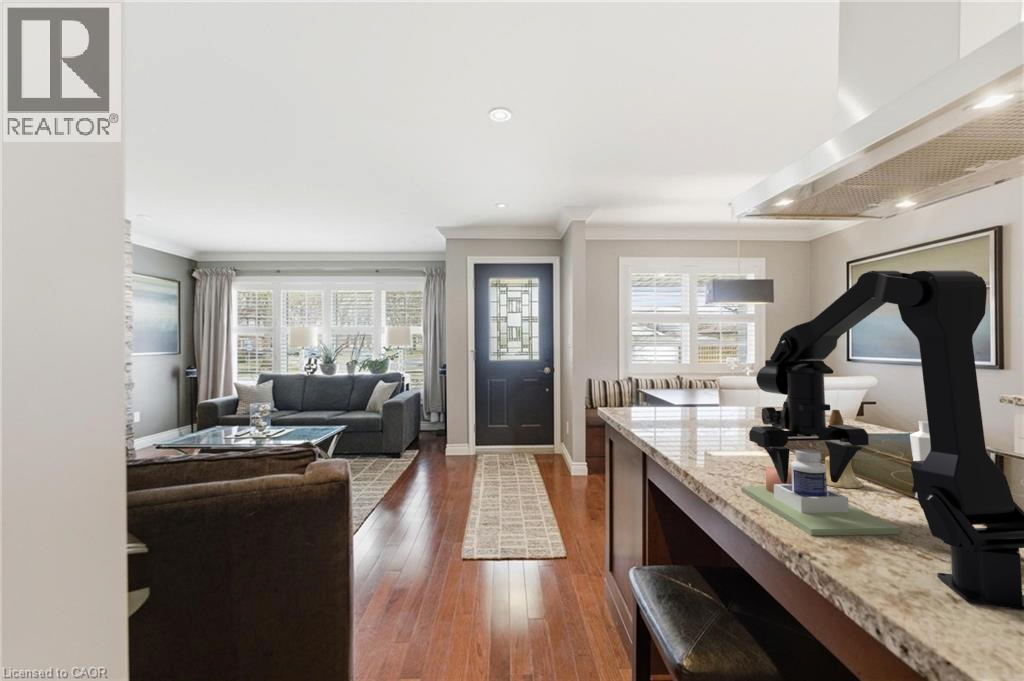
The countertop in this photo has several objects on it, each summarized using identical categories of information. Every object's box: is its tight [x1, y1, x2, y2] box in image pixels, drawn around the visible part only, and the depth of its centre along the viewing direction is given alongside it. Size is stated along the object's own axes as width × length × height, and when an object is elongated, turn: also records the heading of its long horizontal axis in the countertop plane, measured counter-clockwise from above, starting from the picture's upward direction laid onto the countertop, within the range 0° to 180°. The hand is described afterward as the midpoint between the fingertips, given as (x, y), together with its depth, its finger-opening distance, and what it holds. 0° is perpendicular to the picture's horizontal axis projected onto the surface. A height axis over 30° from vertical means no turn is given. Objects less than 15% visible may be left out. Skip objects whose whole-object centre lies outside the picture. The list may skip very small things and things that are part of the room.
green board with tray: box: [740, 466, 901, 536], centre depth 81 cm, size 22×14×5 cm, turn 179°
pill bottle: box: [790, 448, 828, 497], centre depth 81 cm, size 5×5×10 cm
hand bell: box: [824, 409, 864, 489], centre depth 97 cm, size 8×8×16 cm
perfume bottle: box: [909, 420, 931, 499], centre depth 85 cm, size 5×4×15 cm
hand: (808, 482), depth 81 cm, fingers open, 9 cm apart
